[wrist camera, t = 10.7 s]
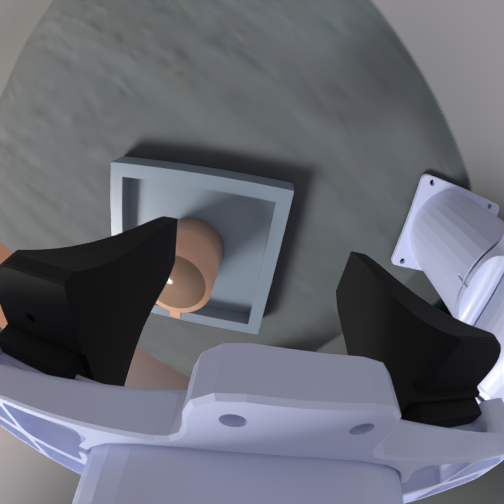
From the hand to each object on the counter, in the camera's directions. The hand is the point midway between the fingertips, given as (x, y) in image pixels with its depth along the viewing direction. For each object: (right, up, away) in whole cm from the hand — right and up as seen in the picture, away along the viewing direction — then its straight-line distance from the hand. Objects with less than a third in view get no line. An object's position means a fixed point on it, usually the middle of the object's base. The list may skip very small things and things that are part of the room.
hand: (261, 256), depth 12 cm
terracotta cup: (-5, +1, +11) cm, 12 cm away
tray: (-5, +1, +12) cm, 13 cm away
